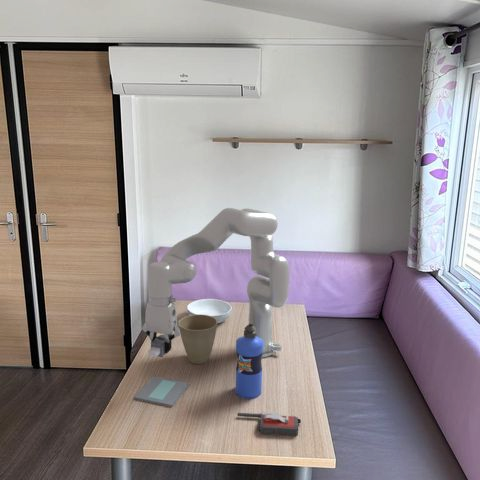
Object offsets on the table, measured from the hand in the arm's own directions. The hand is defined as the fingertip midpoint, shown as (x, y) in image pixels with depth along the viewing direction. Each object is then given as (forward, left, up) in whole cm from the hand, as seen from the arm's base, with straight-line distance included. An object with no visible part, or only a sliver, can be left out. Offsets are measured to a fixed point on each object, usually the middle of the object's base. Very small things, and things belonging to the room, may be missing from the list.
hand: (161, 350), depth 156 cm
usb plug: (0, +1, 0) cm, 1 cm away
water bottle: (-28, -10, -16) cm, 34 cm away
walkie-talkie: (-39, +6, -17) cm, 43 cm away
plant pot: (-3, -25, -16) cm, 30 cm away
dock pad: (0, 0, -16) cm, 16 cm away
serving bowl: (+6, -61, -16) cm, 63 cm away
